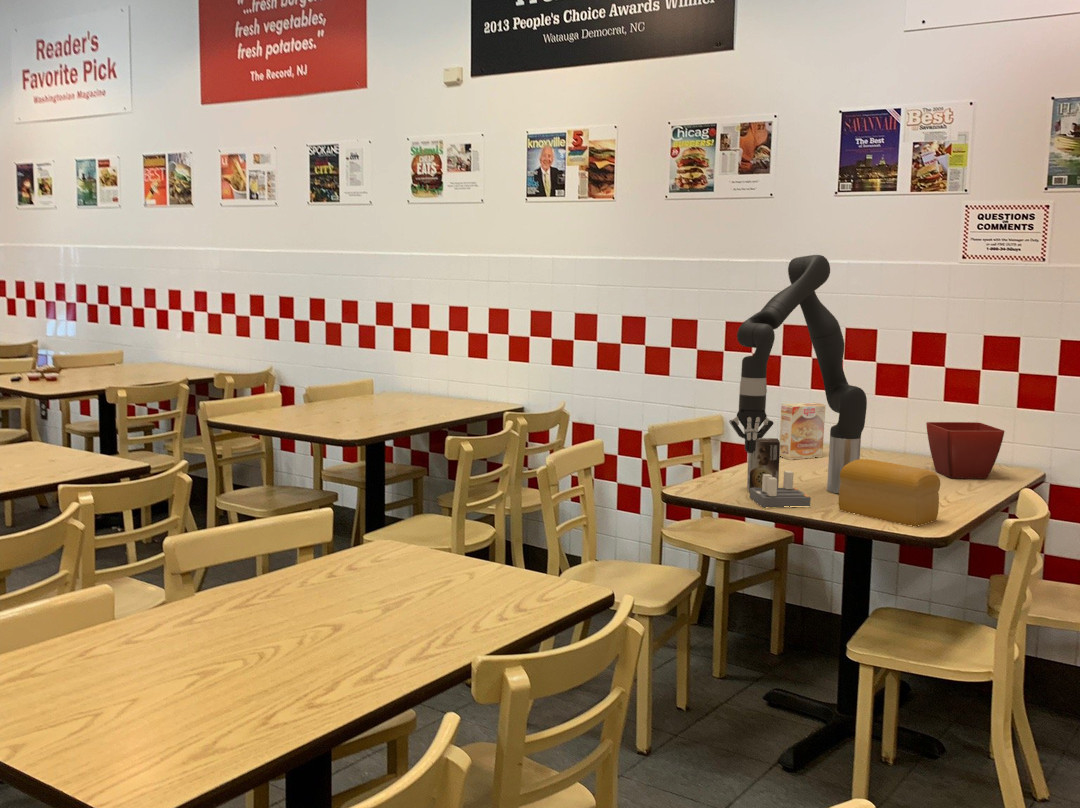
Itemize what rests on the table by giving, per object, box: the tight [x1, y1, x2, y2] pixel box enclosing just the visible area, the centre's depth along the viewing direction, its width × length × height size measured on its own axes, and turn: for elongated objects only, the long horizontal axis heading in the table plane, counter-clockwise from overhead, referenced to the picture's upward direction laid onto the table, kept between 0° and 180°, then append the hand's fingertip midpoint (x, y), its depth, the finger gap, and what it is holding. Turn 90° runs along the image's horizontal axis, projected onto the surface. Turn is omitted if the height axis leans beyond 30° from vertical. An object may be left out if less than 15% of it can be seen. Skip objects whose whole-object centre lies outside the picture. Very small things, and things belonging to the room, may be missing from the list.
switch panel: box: [749, 487, 812, 509], centre depth 312 cm, size 14×13×3 cm
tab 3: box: [782, 470, 794, 489], centre depth 316 cm, size 2×3×5 cm
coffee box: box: [746, 437, 780, 492], centre depth 327 cm, size 9×6×16 cm
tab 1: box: [762, 474, 772, 493], centre depth 311 cm, size 2×3×5 cm
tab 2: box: [767, 477, 777, 496], centre depth 306 cm, size 2×3×5 cm
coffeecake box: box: [778, 402, 827, 461], centre depth 383 cm, size 15×7×20 cm, turn 115°
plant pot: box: [926, 421, 1006, 480], centre depth 356 cm, size 19×19×17 cm
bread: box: [837, 458, 941, 527], centre depth 298 cm, size 24×13×15 cm, turn 42°
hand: (749, 452), depth 304 cm, fingers closed
